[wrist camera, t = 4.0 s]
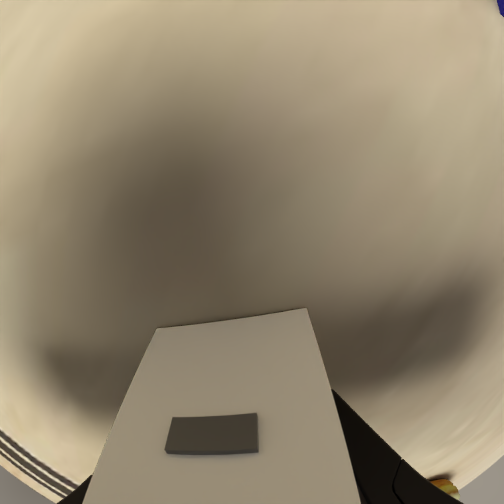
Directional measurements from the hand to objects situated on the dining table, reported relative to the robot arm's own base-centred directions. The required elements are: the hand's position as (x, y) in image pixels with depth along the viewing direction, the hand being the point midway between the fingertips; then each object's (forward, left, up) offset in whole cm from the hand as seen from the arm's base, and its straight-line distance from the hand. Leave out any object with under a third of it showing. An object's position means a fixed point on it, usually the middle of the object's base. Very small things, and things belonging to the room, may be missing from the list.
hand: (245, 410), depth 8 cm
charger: (0, +2, -1) cm, 2 cm away
